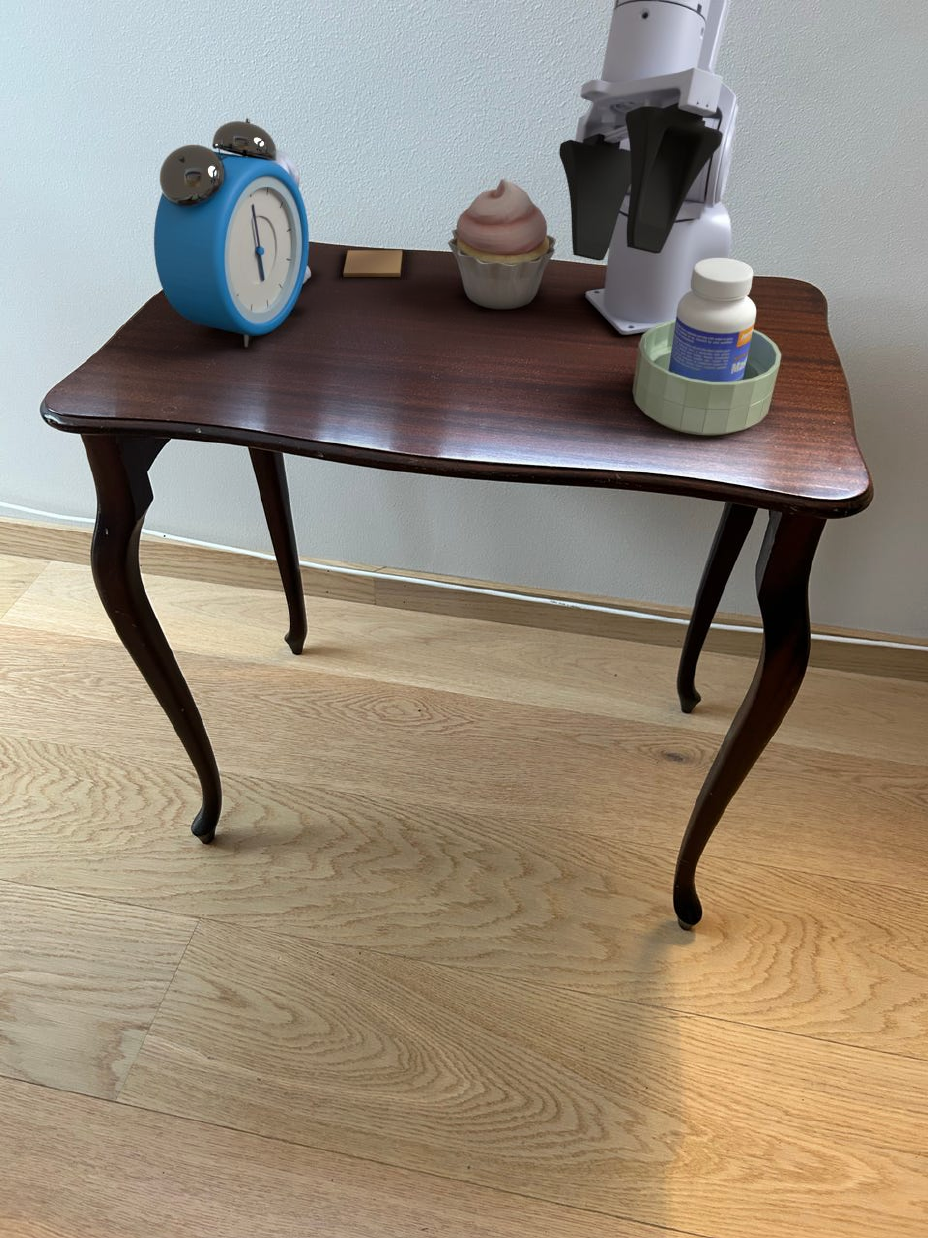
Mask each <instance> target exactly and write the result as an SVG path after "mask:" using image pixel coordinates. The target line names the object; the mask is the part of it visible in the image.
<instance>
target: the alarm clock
mask: <svg viewBox="0 0 928 1238" xmlns="http://www.w3.org/2000/svg"><path fill="white" fill-rule="evenodd" d="M211 147H212V148H213V149H214V150H216V149H218V151H213V150H212V149H211V148H209V147H208V146H204V145H201V144H186V145H182V146H180V147H178V148H176V149H174V150H173V151H171V152H170V153H169V154H168V156H166V158H165V159H164V161H163V162H162V164H161V167H160V171H159V186H160V189H161V191H162V193H161V196H160V198H159V202H158V205H157V208H156V209H157V210H156V215H155V221H154V228H153V230H154V231H153V252H154V261H155V268H156V272H157V275H158V279H159V283H160V286H161V289H162V290H163V293H164V295H165V297H166V298H167V300H168V302H169V303H170V304H171V306H172V307H173V309H174V310H175V311H176V312H177V313H178V314H179V315H180V316H181V317H183V319H186V320H187V321H189V322H191V323H194V324H197V325H201V326H205V327H210V328H213V329H218V330H222V331H227V332H231V333H235V334H241V335H243V338H244V347H245V348H249V347H250V344H251V342H252V341H251V340H252V337H260V336H264V335H267V334H269V333H271V332H272V331H274V330H276V329H277V328H278V327H280V326H281V325H282V324H283V323H284V321H285V320H286V319H287V318H288V316H289V315H290V313H293V311H294V309H293V308H294V307H295V305H296V302H297V301H298V298H299V295H300V294H301V290H302V287H303V285H304V284H303V281H304V277H305V273H306V268H307V266H308V262H309V261H308V260H309V250H310V234H309V233H310V232H309V221H308V214H307V210H306V206H305V202H304V199H303V196H302V193H301V191H300V187H299V188H298V186H297V185H296V183H295V181H294V180H293V178H292V177H291V176H290V174H289V173H288V172H287V171H286V170H285V169H284V168H283V167H281V166H280V165H278V164H276V163H274V162H272V161H276V159H277V149H278V148H277V145H276V143H275V141H274V139H273V138H272V136H271V135H270V134H269V132H267V131H266V130H265V129H263V128H262V127H261V126H259V125H257V124H254V123H251V118H246V119H245V121H240V120H234V121H229V122H227V123H224V124H223V125H221V126H219V128H217V130H216V131H215V133H214V135H213V137H212V144H211ZM221 151H224V152H221ZM225 152H227V153H225ZM233 153H234V154H238V155H242V156H238V155H232V154H233Z"/></svg>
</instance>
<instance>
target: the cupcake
mask: <svg viewBox="0 0 928 1238" xmlns="http://www.w3.org/2000/svg"><path fill="white" fill-rule="evenodd" d="M451 233H452V235H453V238H452V239H449V240H448V242H447V244H448V246H449V248H450V251H451V252H452V254H453V255H454V258H455V259H456V261H457V265H458V268H459V272H460V276H461V280H462V285H463V289H464V293H465V294H466V296H467V298H468V299H469V300H470V301H471V302H473V303H474V304H475V305H478V306H481V307H483V308H488V309H493V310H512V309H519V308H522V307H524V306H526V305H529V304H530V303H531V302H532V301H533V300H534V298H535V296H536V295H537V293H538V290H539V287H540V284H541V281H542V278H543V275H544V272H545V269H546V268H547V266H548V264H549V262H550V260H551V259H552V258H553V256H554V254H555V248H554V246H555V245H556V243H557V239H556V238H555V237H554V236H552V235H548V223H547V220H546V217H545V215H544V214H543V212H542V210H541V209H540V208H539V207H538V206H537V205H536V204H535V203H534V202H533V201H532V199H531V198H530V196H529V195H528V193H527V192H526V191H525V190H524V189H523V188H521V186H519V185H517V184H516V183H514V182H511V181H509V180H507V179H506V178H501V179H500V181H499V183H498V185H497V187H496V189H490V190H485V191H482V192H481V193H479V194H478V195H477V196H476V197H475V198H474V199H473V201H472V202H471V203H470V205H469V207H468V208H466V209H465V210H464V211H463V212H462V213H461V214H460V215H459V217H458V219H457V221H456V228H455V229H452V230H451Z"/></svg>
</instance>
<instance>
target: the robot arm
mask: <svg viewBox="0 0 928 1238" xmlns="http://www.w3.org/2000/svg"><path fill="white" fill-rule="evenodd" d="M731 3H732V0H614V2H613V9H612V14H611V21H610V26H609V30H608V36H607V37H608V38H607V42H606V47H605V48H606V49H605V54H604V60H603V64H602V71H601V77H600V79H594V78H593V79H591V80H589V81H587V82H585V83H583V84H582V85H581V90H580V97H581V98H582V99H584V100H586V101H589V102H590V104H589V106H588V108H587V110H586V113H585V114H584V115H582V116H580V117H578V122H577V128H576V134H575V139H568V140H565V141H563V142H560V144H559V150H558V151H559V152H558V153H559V155H558V156H559V158H560V161H561V163H562V167H563V171H564V174H565V177H566V181H567V187H568V193H569V201H570V217H571V218H570V219H571V220H570V221H571V242H572V243H571V244H572V254H573V256H577V257H580V258H586V259H589V260H594V261H604V259H605V257H606V255H607V263H606V273H605V282H604V288H599V289H592V290H587V291H586V292H585V298H586V299H587V300H588V301H589V303H591V305H592V306H593V307H594V308H595V309H596V310H597V311H598V312H599V313H600V314H601V315H602V316H603V317H604V318H605V319H606V320H607V321H608V323H609V324H611V325H612V326H613V328H614V329H615V330H616V331H617V332H618V333H619V334H620V335H623V336H628V335H634V334H640V333H646V332H647V331H648V330H649V329H651V328H652V327H653V326H656V325H659V324H661V323H664V322H667V321H671V320H676V313H677V307H678V303H679V301H680V299H681V298H682V297H683V296H684V295H685V294H686V293H688V292H690V291H692V289H691V278H692V273H693V268H694V266H695V264H696V263H698V262H700V261H702V260H705V259H710V258H728V259H729V256H730V253H731V246H732V225H731V219H730V216H729V215H730V214H729V212H728V210H727V208H726V207H725V205H724V204H723V203H722V200H723V197H724V194H725V190H726V187H727V181H728V177H729V172H730V168H731V163H732V159H733V158H732V157H733V152H734V146H735V140H736V132H737V125H738V120H739V104H737V95H736V94H735V92H734V91H733V90H732V89H731V88H730V87H729V86H728V85H727V84H726V83H725V82H724V81H723V80H724V76H722V75H719V74H716V73H715V69H716V65H717V62H718V61H717V60H718V57H719V53H720V48H721V45H722V40H723V37H724V32H725V28H726V24H727V19H728V15H729V12H730V7H731ZM607 253H608V254H607Z"/></svg>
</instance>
